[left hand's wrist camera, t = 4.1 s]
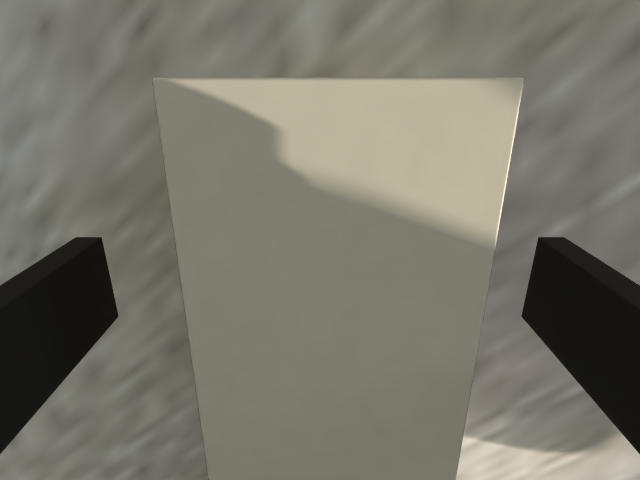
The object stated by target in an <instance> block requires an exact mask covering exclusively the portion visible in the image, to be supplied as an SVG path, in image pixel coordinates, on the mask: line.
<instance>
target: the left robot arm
mask: <svg viewBox="0 0 640 480" xmlns="http://www.w3.org/2000/svg"><path fill="white" fill-rule="evenodd" d="M117 317H118V312H117V307H116V303H115V298H114V293H113V289H112V284H111V279H110V275H109V270H108V265H107V261H106V256H105V251H104V247H103V242H102V237H76V238H74V239H73V240H71V241H70V242H68V243H66V244H65V245H63V246H62V247H60V248H59V249H57V250H55V251H54V252H52V253H51V254H49V255H48V256H46V257H44V258H43V259H41V260H40V261H38V262H37V263H35V264H34V265H32V266H30V267H29V268H27V269H26V270H24V271H23V272H21V273H19V274H18V275H16V276H15V277H13V278H12V279H10V280H8V281H7V282H5V283H4V284H2V285H1V286H0V454H1V453H2V451H3V450H4V449H5V448H6V447H7V446H8V444H9V443H10V442H11V441H12V440H13V439H14V437H15V436H16V435H17V434H18V433H19V432H20V430H21V429H22V428H23V427H24V426H25V425H26V423H27V422H28V421H29V420H30V419H31V418H32V416H33V415H34V414H35V413H36V412H37V411H38V409H39V408H40V407H41V406H42V405H43V404H44V402H45V401H46V400H47V399H48V398H49V397H50V395H51V394H52V393H53V392H54V391H55V390H56V388H57V387H58V386H59V385H60V384H61V383H62V381H63V380H64V379H65V378H66V377H67V376H68V374H69V373H70V372H71V371H72V370H73V369H74V368H75V366H76V365H77V364H78V363H79V362H80V361H81V359H82V358H83V357H84V356H85V355H86V354H87V352H88V351H89V350H90V349H91V348H92V347H93V345H94V344H95V343H96V342H97V341H98V340H99V338H100V337H101V336H102V335H103V334H104V333H105V331H106V330H107V329H108V328H109V327H110V326H111V324H112V323H113V322H114V321H115V320H116V319H117ZM522 317H523V319H524V320H525V321H526V322H527V323H528V324H529V326H530V327H531V328H532V329H533V330H534V331H535V333H536V334H537V335H538V336H539V337H540V338H541V340H542V341H543V342H544V343H545V344H546V345H547V347H548V348H549V349H550V350H551V351H552V352H553V354H554V355H555V356H556V357H557V358H558V359H559V361H560V362H561V363H562V364H563V365H564V366H565V368H566V369H567V370H568V371H569V372H570V373H571V375H572V376H573V377H574V378H575V379H576V380H577V381H578V383H579V384H580V385H581V386H582V387H583V388H584V390H585V391H586V392H587V393H588V394H589V395H590V397H591V398H592V399H593V400H594V401H595V402H596V404H597V405H598V406H599V407H600V408H601V409H602V411H603V412H604V413H605V414H606V415H607V416H608V418H609V419H610V420H611V421H612V422H613V423H614V425H615V426H616V427H617V428H618V429H619V430H620V432H621V433H622V434H623V435H624V436H625V437H626V439H627V440H628V441H629V442H630V443H631V444H632V446H633V447H634V448H635V449H636V450H637V451H638V453H639V454H640V286H639V285H638V284H636V283H635V282H633V281H632V280H630V279H628V278H627V277H625V276H624V275H622V274H621V273H619V272H617V271H616V270H614V269H613V268H611V267H610V266H608V265H606V264H605V263H603V262H602V261H600V260H599V259H597V258H596V257H594V256H592V255H591V254H589V253H588V252H586V251H585V250H583V249H581V248H580V247H578V246H577V245H575V244H574V243H572V242H570V241H569V240H567V239H566V238H564V237H538V242H537V247H536V251H535V256H534V261H533V265H532V270H531V275H530V279H529V284H528V289H527V293H526V298H525V303H524V307H523V312H522Z"/></svg>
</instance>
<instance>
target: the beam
mask: <svg viewBox="0 0 640 480" xmlns="http://www.w3.org/2000/svg"><path fill="white" fill-rule="evenodd" d="M152 83H153V90H154V97H155V104H156V111H157V118H158V125H159V132H160V140H161V147H162V154H163V161H164V168H165V175H166V182H167V189H168V196H169V203H170V211H171V218H172V225H173V232H174V239H175V246H176V253H177V260H178V267H179V274H180V282H181V289H182V296H183V303H184V310H185V317H186V324H187V331H188V338H189V345H190V352H191V360H192V367H193V374H194V381H195V388H196V395H197V402H198V409H199V416H200V423H201V431H202V438H203V445H204V452H205V459H206V466H207V473H208V480H456V474H457V469H458V463H459V457H460V451H461V445H462V439H463V434H464V428H465V422H466V416H467V410H468V404H469V399H470V393H471V387H472V381H473V375H474V369H475V364H476V358H477V352H478V346H479V340H480V334H481V328H482V323H483V317H484V311H485V305H486V299H487V293H488V288H489V282H490V276H491V270H492V264H493V258H494V253H495V247H496V241H497V235H498V229H499V223H500V218H501V212H502V206H503V200H504V194H505V188H506V183H507V177H508V171H509V165H510V159H511V153H512V148H513V142H514V136H515V130H516V124H517V118H518V112H519V107H520V101H521V95H522V89H523V83H524V79H523V78H521V77H155V78H153V79H152Z"/></svg>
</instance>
